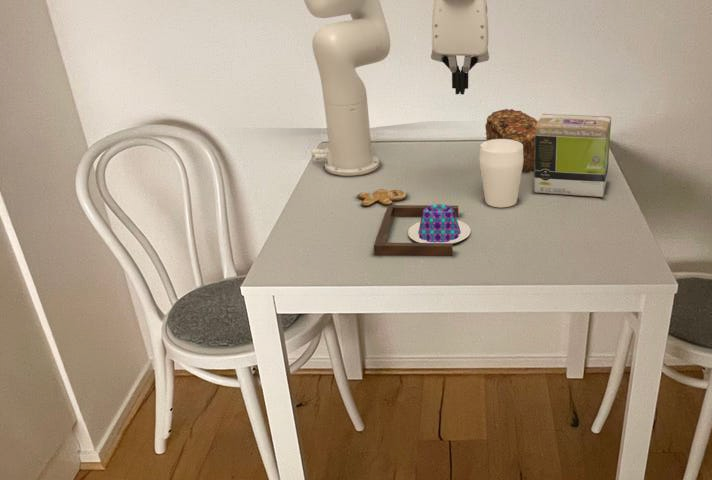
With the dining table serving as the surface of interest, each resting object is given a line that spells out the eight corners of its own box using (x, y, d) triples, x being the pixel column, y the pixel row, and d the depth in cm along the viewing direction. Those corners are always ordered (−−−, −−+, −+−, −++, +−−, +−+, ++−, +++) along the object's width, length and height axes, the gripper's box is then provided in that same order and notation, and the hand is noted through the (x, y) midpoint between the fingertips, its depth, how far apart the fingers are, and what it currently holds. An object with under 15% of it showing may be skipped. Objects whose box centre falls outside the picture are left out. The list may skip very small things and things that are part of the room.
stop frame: (374, 255, 138) (373, 245, 137) (388, 214, 154) (388, 204, 153) (452, 255, 138) (451, 246, 137) (458, 214, 153) (458, 205, 152)
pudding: (471, 221, 150) (471, 197, 147) (469, 248, 140) (469, 222, 137) (411, 221, 151) (409, 197, 148) (404, 248, 140) (403, 222, 138)
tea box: (607, 181, 168) (612, 115, 160) (603, 199, 159) (608, 129, 151) (540, 176, 170) (542, 111, 163) (532, 193, 162) (534, 125, 154)
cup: (519, 211, 154) (520, 154, 148) (475, 208, 156) (474, 152, 149) (525, 195, 162) (527, 140, 155) (484, 192, 163) (483, 137, 157)
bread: (484, 149, 186) (484, 108, 181) (524, 144, 189) (525, 104, 184) (513, 175, 172) (514, 131, 166) (556, 168, 175) (558, 126, 169)
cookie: (355, 190, 162) (401, 184, 165) (356, 194, 162) (401, 188, 165) (362, 204, 155) (410, 198, 158) (363, 209, 156) (410, 202, 158)
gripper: (502, -16, 136) (500, 87, 146) (419, -18, 136) (423, 85, 146) (501, -8, 130) (499, 99, 140) (414, -10, 130) (418, 97, 140)
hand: (460, 92), depth 143 cm, fingers closed
